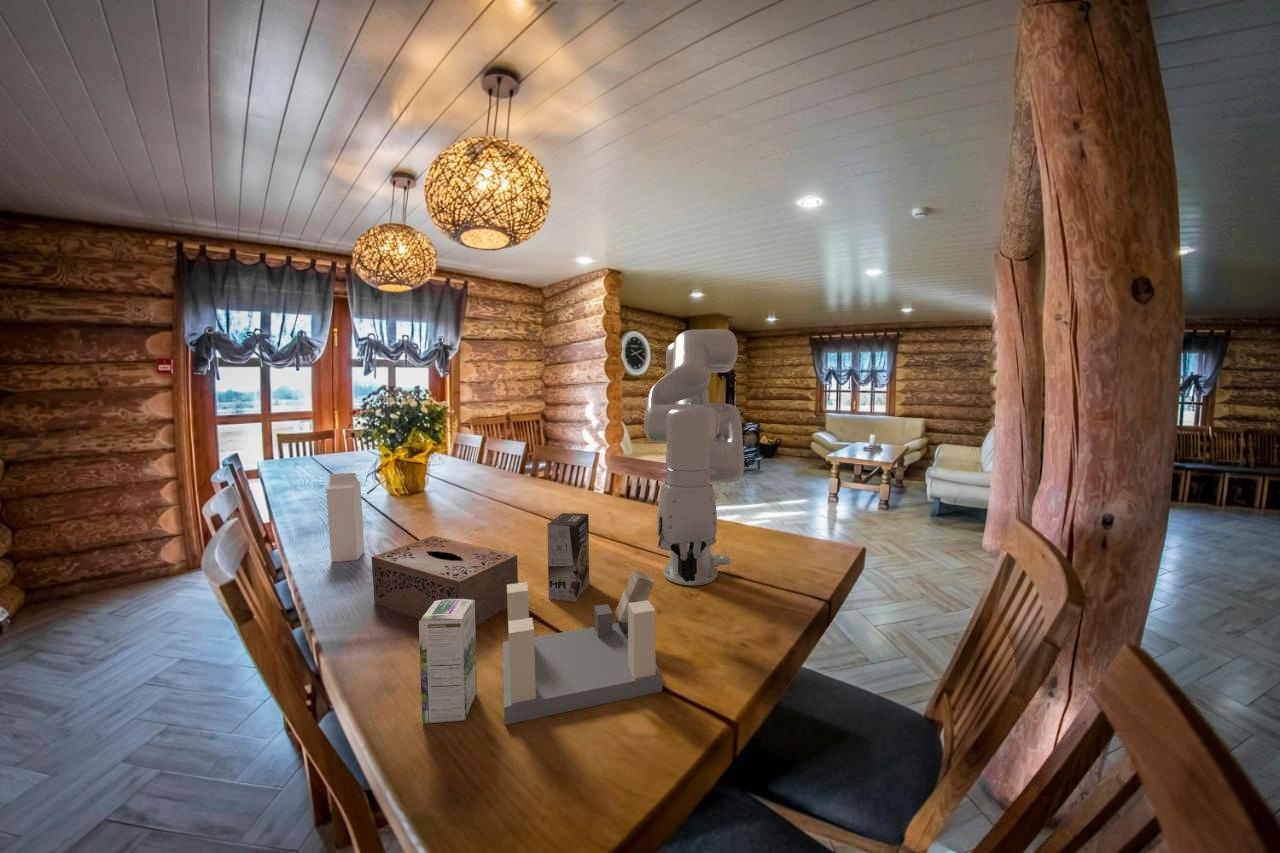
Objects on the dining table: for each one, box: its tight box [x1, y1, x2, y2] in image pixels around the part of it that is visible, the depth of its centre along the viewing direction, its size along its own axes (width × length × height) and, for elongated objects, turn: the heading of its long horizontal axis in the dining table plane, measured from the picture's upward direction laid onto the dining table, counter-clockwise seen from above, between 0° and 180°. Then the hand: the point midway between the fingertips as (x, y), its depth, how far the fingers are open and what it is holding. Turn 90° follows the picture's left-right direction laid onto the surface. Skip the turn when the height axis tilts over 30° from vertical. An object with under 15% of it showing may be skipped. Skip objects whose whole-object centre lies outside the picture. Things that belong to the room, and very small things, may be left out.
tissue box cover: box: [371, 535, 519, 627], centre depth 95 cm, size 26×14×10 cm, turn 62°
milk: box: [325, 472, 366, 563], centre depth 118 cm, size 6×6×22 cm
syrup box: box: [418, 599, 478, 724], centre depth 63 cm, size 6×6×14 cm
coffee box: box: [547, 512, 590, 603], centre depth 99 cm, size 9×6×16 cm
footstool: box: [502, 581, 663, 726], centre depth 71 cm, size 22×16×12 cm
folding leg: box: [614, 569, 655, 633], centre depth 80 cm, size 3×4×10 cm
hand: (687, 578), depth 83 cm, fingers closed
